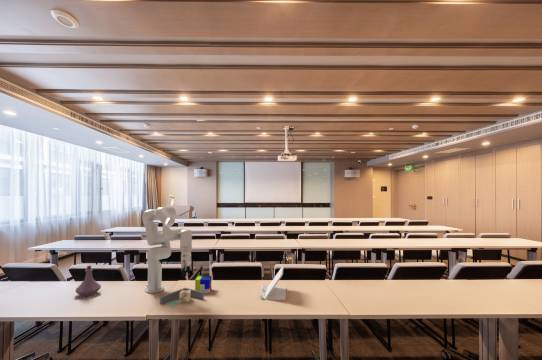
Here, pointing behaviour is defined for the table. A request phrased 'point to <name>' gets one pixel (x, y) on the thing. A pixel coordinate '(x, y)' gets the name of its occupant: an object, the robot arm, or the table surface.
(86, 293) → the flask
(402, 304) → the table surface
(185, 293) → the birch block
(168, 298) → the arena
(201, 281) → the puzzle toy
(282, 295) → the tablet stand
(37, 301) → the table surface
